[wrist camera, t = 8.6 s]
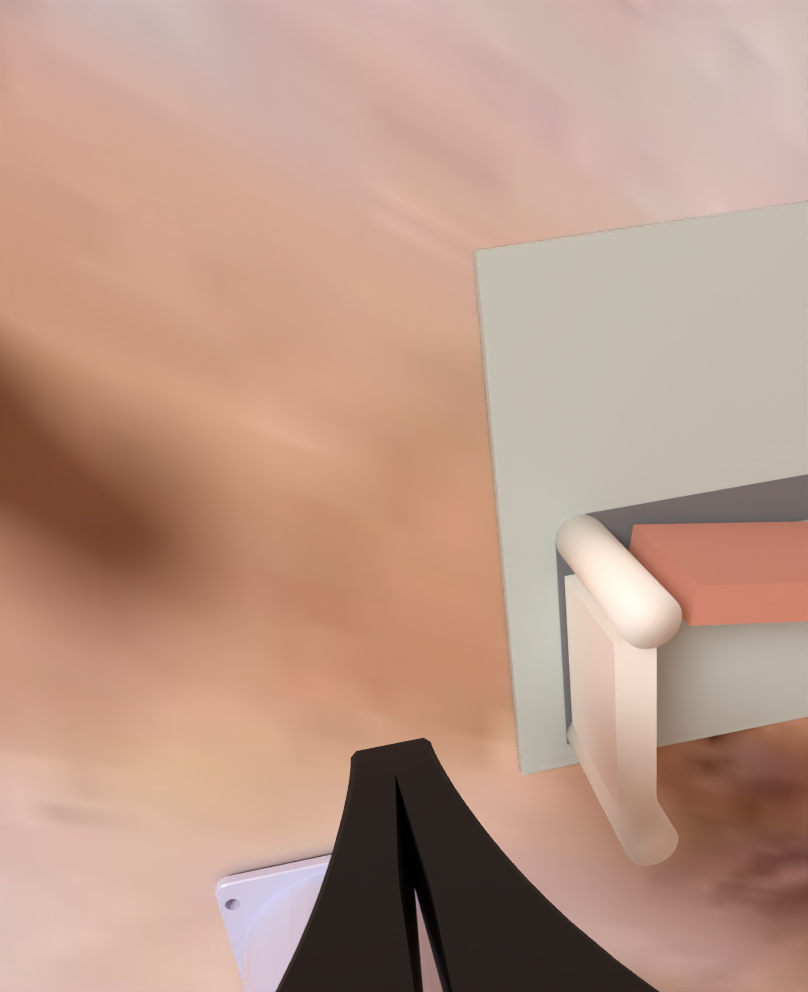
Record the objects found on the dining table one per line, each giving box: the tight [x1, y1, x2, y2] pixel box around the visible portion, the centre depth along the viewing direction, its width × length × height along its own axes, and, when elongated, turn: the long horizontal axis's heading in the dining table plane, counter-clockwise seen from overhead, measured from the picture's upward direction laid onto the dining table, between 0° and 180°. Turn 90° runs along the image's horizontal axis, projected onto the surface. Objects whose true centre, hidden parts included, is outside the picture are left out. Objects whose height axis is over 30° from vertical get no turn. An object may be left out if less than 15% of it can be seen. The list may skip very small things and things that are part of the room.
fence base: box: [555, 514, 682, 866], centre depth 23 cm, size 9×2×6 cm, turn 7°
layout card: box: [473, 201, 808, 775], centre depth 24 cm, size 18×15×1 cm
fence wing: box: [629, 521, 808, 626], centre depth 22 cm, size 8×2×5 cm, turn 88°
